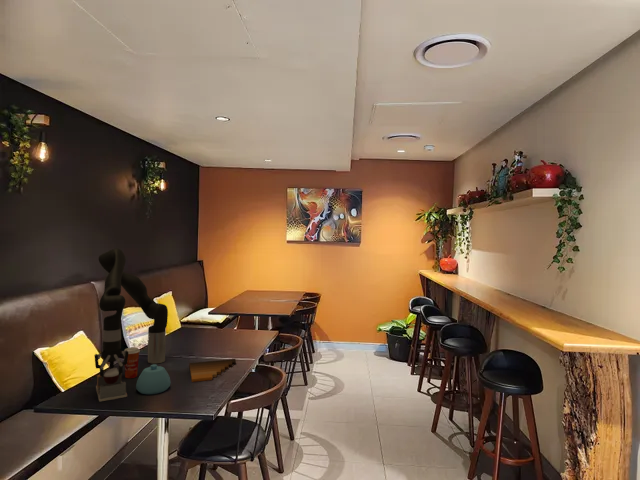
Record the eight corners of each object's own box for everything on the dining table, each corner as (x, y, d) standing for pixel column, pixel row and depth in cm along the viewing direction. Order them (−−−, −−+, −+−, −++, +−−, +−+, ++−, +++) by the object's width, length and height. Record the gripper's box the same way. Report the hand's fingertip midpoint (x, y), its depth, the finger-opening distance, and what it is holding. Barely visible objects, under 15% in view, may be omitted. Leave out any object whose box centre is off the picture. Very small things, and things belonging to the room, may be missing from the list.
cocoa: (114, 386, 182) (115, 360, 181) (99, 386, 182) (100, 359, 181) (122, 378, 192) (123, 353, 191) (109, 378, 191) (109, 352, 190)
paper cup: (121, 379, 203) (121, 351, 203) (124, 374, 211) (124, 347, 211) (138, 378, 205) (138, 350, 205) (140, 373, 213) (141, 346, 213)
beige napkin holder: (95, 387, 192) (96, 374, 192) (121, 383, 198) (121, 371, 198) (99, 401, 176) (99, 387, 176) (127, 396, 182) (127, 383, 182)
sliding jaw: (97, 385, 192) (97, 375, 192) (120, 381, 197) (120, 371, 197) (97, 387, 190) (97, 376, 190) (121, 383, 195) (121, 373, 195)
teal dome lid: (160, 381, 202) (160, 358, 202) (176, 389, 192) (177, 364, 192) (130, 389, 190) (130, 365, 190) (146, 398, 181) (146, 372, 181)
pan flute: (234, 363, 233) (189, 368, 224) (234, 358, 233) (189, 362, 224) (242, 378, 210) (191, 383, 201) (242, 371, 210) (191, 376, 201)
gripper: (94, 342, 179) (93, 380, 179) (130, 339, 187) (129, 375, 187) (93, 339, 185) (92, 375, 185) (128, 335, 193) (127, 370, 193)
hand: (111, 375), depth 186 cm, fingers closed on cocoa, 6 cm apart
